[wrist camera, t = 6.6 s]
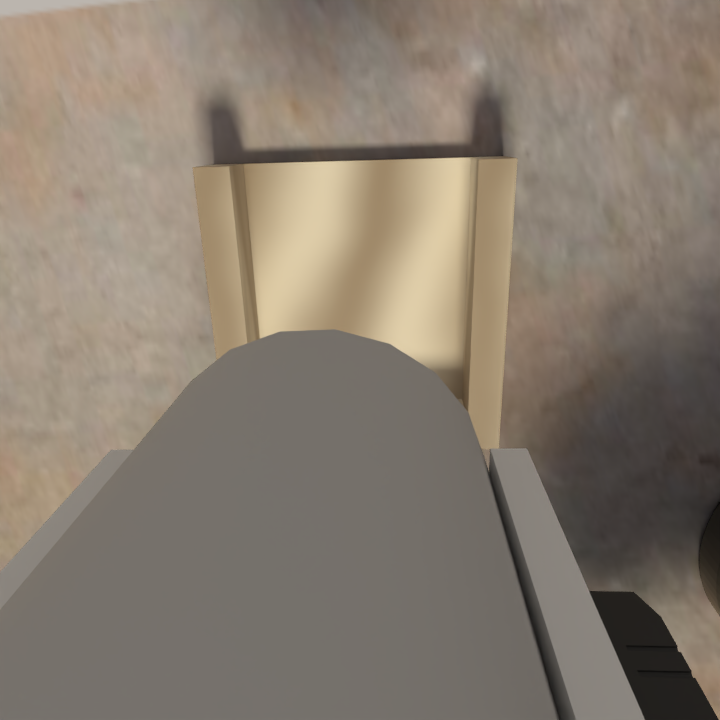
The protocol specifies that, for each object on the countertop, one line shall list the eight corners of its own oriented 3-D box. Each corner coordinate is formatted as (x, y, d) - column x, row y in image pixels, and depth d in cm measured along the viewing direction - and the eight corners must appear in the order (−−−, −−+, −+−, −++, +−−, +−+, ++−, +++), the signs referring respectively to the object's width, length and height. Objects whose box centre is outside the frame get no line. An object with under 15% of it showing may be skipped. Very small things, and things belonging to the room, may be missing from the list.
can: (172, 298, 13) (-1265, 1330, 2) (507, 335, 13) (1300, 1687, 2) (176, 567, 16) (-373, 1656, 4) (453, 600, 16) (613, 1798, 4)
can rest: (503, 156, 26) (517, 158, 23) (488, 420, 30) (498, 449, 27) (213, 164, 26) (192, 167, 24) (242, 421, 31) (227, 449, 28)
